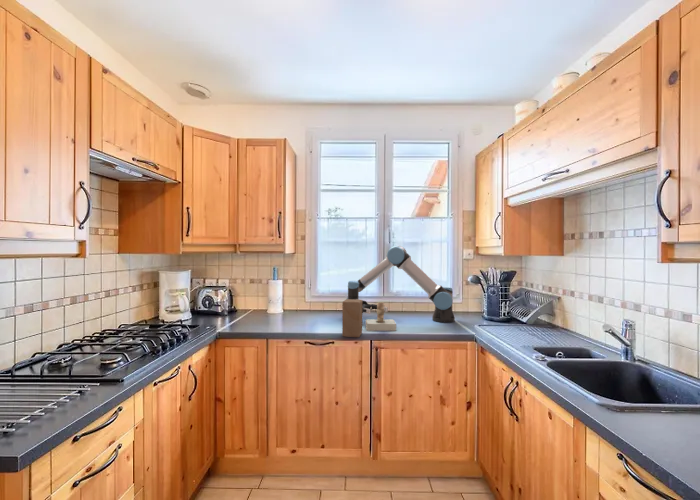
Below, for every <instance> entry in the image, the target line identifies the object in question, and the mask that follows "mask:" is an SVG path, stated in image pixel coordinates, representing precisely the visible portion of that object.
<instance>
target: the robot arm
mask: <svg viewBox="0 0 700 500" xmlns="http://www.w3.org/2000/svg"><path fill="white" fill-rule="evenodd" d="M386 253H387V254H386V257H385V258H384V259H383V260H382V261H381V262H379V263H378V264H376V266H373V268H372V269H370V270H369V271H368V272H367V273H365V274H364V275H363V276H361V278H359V279H358V280H349V281H348V282H347V283H348V284H347V298H346V299H354V300H362V314H364V313H365V314H369V315H371V310H377V304H376V303H375V304H374V303H368V301H367V300H363V299H359V295H360V294H359V293H361V292H362V291H363V290H364V289H366V288H367V287H368V286H370V284H372V283H373V282H374V281H376V280H377V279H378V278H379V277H381V276H382V275H383V274H385V273H386V272H387V271H388V270H390V269H391V268H392V267H396V268H397V269H398V270H403V271H404V273H406V275H408V276H409V277H410V278H411V280H413V281H414V282H415V283H416V284H417V285H418V286H419V287H420V288H421V289H422V290H423V291H424V292H425V293H426V294H427V295H428V299H429V300H430V301H432V303H433V304H434V311H433V313H432V321H433V322H437V323H447V324H448V323H453V322H455V321H456V317H455V314H454V311H453V300H454V299H453V297H454V296H453V295H454V294H453V288H452V287H445V286H442V285H440V284H437V283H436V282H435V281H434V280H433V279H432V278H431V277H429V275H427V273H425V272H424V271H423V270H422V269H421V268H420V267H419V266H418V265H417V264H416V263H415V262H414V261H413V260H412V257H411V255H410V254H409V253H407V250H406V248H404V247H403V246H401V245H395V246H392V247H390V248H389V249H388V250H387V252H386ZM388 312H389V308H388V307H387V306H384V313H388Z"/></svg>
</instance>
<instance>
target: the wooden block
mask: <svg viewBox="0 0 700 500" xmlns="http://www.w3.org/2000/svg"><path fill="white" fill-rule="evenodd" d="M362 300H363V299H360V300H354V299H347V298H346V299H344V300H343V301H342V306H341V307H342V311H341V312H342V313H341V314H342V318H341V319H342V324H341V326H342V328H341V329H342V330H341V331H342V333H341V336H342V337H345V338H360V337H361V335H362V334H363V313H362Z"/></svg>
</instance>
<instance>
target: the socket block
mask: <svg viewBox="0 0 700 500" xmlns="http://www.w3.org/2000/svg"><path fill="white" fill-rule="evenodd" d="M377 321H378V320H377V319H371V318H370V319H369V318H367V319H365V328H366V331H368V332H370V331H372V332H373V331H377V332H378V331H381V332H382V331H386V332H387V331H388V332H389V331H394V332H396V331H397V323H396V321H395V319H386V318H385V319H384V320H383V321H384V322H383V323H378V322H377Z"/></svg>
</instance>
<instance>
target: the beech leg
mask: <svg viewBox="0 0 700 500" xmlns="http://www.w3.org/2000/svg"><path fill="white" fill-rule="evenodd" d="M376 305H377V309H376V315H377V317H376V318H377V320H378V321H377V322H378V323H383V322H384V321H383V320H384V318H385V317H384V316H385V311H384V307H385V302H383V301H379V302H377V303H376Z"/></svg>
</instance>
